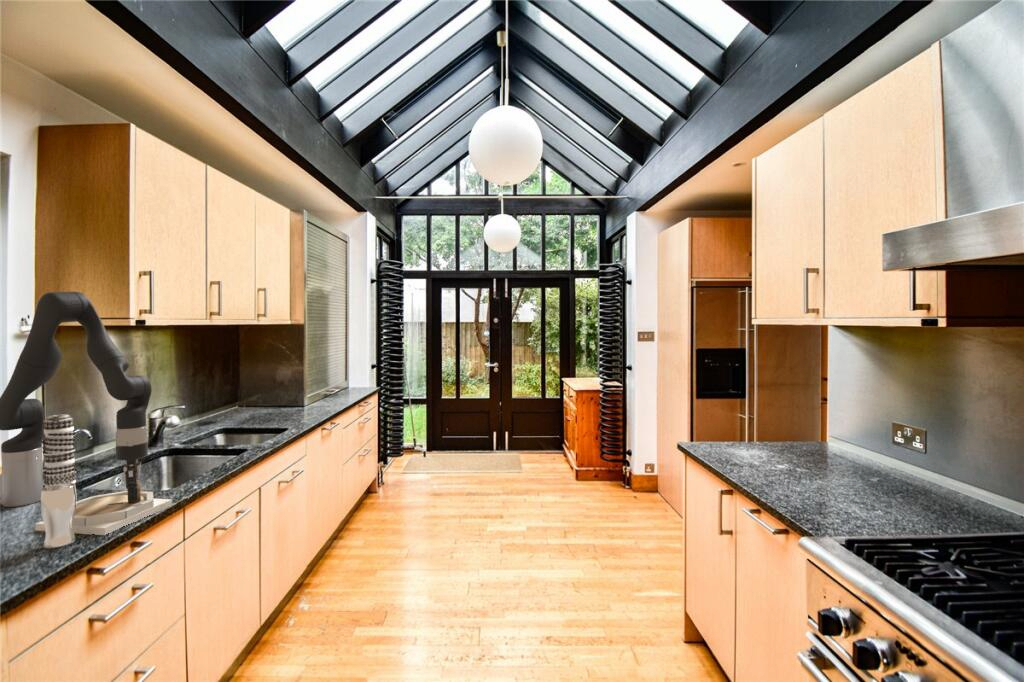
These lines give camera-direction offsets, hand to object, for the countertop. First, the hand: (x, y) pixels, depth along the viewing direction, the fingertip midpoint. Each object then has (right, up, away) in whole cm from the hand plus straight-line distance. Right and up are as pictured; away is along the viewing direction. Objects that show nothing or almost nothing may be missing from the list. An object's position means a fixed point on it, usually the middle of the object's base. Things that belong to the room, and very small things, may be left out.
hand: (133, 498), depth 145 cm
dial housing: (-6, -5, -2) cm, 8 cm away
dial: (-6, -3, -2) cm, 7 cm away
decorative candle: (-48, -4, +28) cm, 56 cm away
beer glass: (-4, -6, -19) cm, 20 cm away
